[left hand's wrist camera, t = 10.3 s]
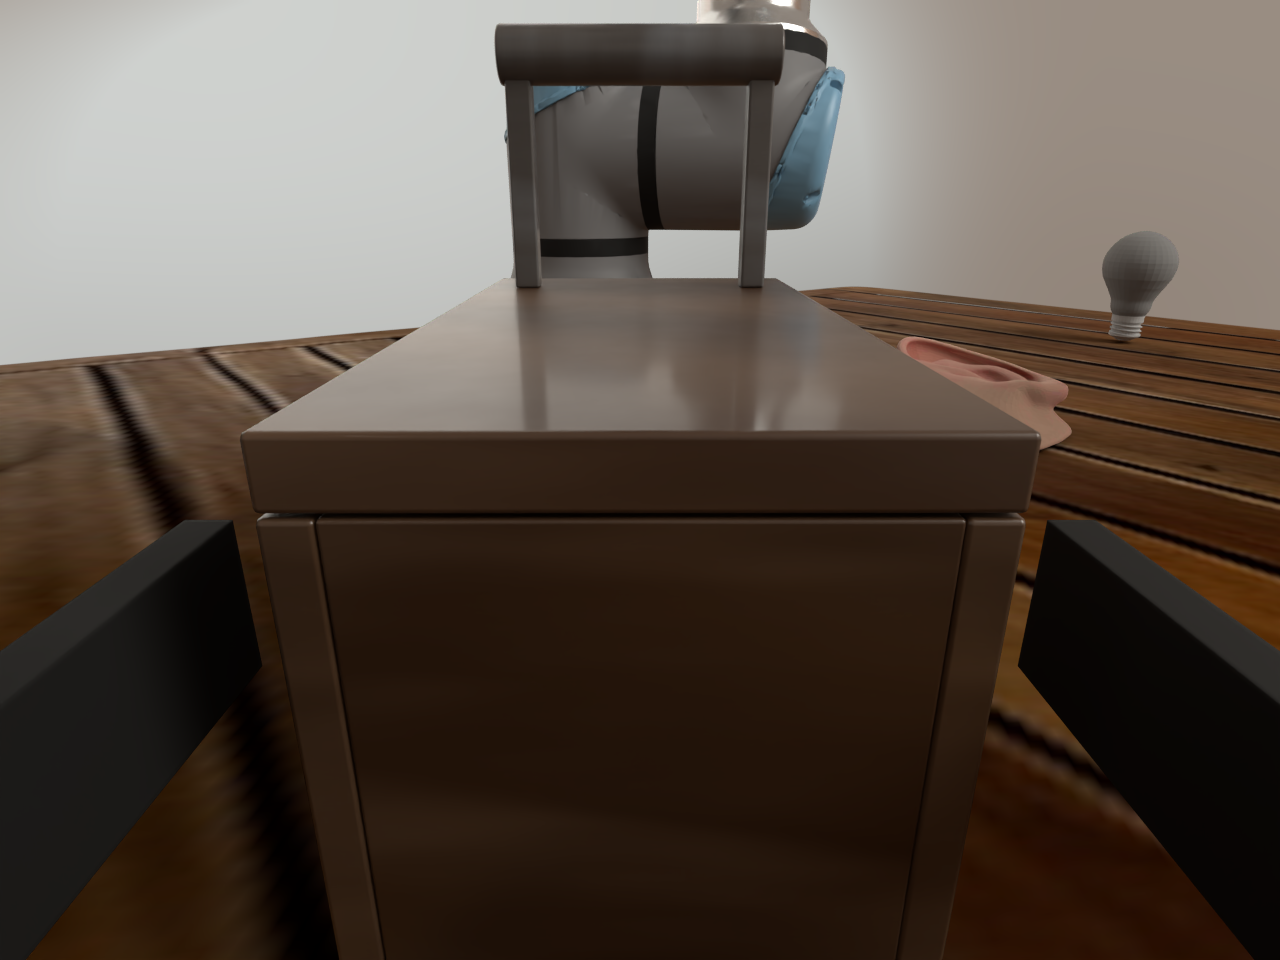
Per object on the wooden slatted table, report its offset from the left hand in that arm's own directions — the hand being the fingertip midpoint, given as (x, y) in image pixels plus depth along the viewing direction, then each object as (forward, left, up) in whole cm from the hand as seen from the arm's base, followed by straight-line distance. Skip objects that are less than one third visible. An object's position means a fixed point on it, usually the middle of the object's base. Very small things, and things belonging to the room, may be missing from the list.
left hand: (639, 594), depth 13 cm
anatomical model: (-15, +37, -7) cm, 41 cm away
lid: (-5, +4, +3) cm, 6 cm away
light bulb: (-21, +76, -7) cm, 79 cm away
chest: (-5, +4, -7) cm, 9 cm away
